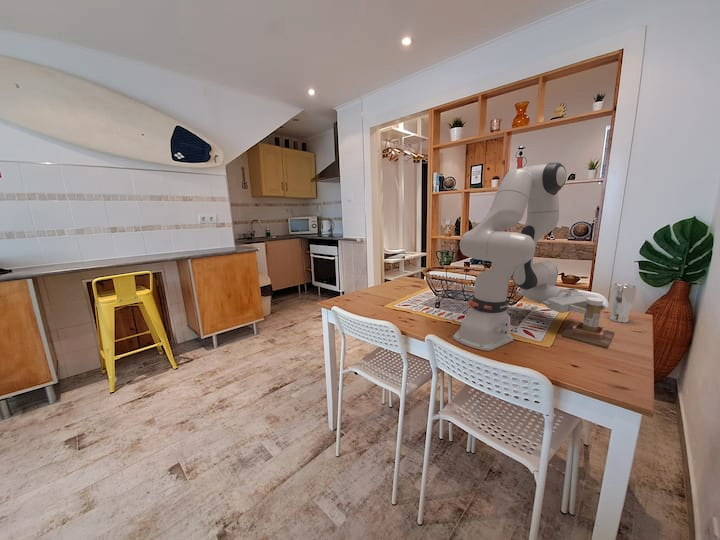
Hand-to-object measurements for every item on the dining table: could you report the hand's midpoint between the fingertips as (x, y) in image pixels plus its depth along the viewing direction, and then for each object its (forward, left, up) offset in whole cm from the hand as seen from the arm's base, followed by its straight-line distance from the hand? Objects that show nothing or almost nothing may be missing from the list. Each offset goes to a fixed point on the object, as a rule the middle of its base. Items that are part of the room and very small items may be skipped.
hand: (595, 309), depth 102 cm
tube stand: (0, +1, -10) cm, 10 cm away
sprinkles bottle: (+1, +1, -10) cm, 10 cm away
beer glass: (+26, -5, -11) cm, 29 cm away
